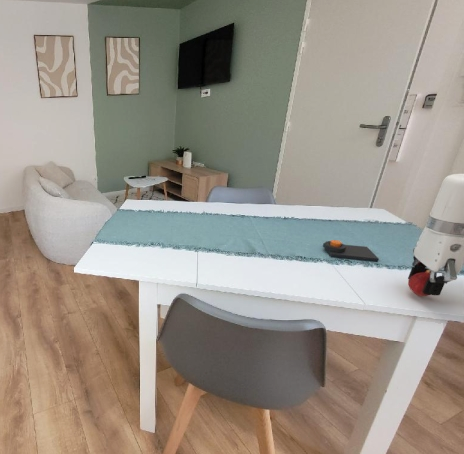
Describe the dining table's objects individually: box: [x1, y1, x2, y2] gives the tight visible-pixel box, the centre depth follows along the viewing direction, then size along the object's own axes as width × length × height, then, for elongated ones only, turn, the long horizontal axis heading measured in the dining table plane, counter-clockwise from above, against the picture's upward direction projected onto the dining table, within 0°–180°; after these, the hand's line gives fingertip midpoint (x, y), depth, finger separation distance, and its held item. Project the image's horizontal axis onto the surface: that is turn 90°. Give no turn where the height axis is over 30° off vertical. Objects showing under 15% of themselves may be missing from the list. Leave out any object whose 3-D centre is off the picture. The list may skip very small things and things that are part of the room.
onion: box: [407, 269, 431, 297], centre depth 78 cm, size 6×6×8 cm
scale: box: [322, 240, 379, 263], centre depth 102 cm, size 14×9×3 cm, turn 70°
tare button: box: [330, 239, 342, 247], centre depth 102 cm, size 3×3×2 cm
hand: (422, 286), depth 78 cm, fingers closed on onion, 5 cm apart
